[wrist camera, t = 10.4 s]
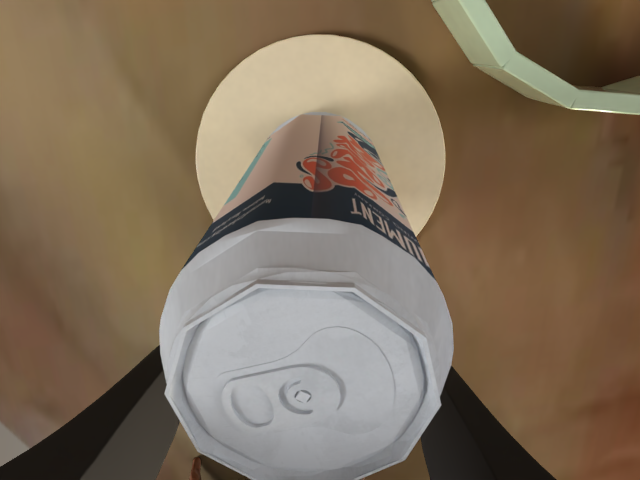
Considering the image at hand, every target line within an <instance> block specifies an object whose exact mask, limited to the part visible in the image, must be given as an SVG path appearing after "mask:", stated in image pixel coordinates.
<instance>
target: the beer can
mask: <svg viewBox="0 0 640 480" xmlns="http://www.w3.org/2000/svg"><path fill="white" fill-rule="evenodd" d="M159 337H160V354H161V359H162V364H163V369H164V374H165V379H166V383H167V386H166V390H165V393H164V394H165V396H166V398H167V399H168V401H169V403H170V405H171V406H172V408H173V410H174V412H175V413H176V415H177V417H178V418H179V420H180V422H181V424H182V425H183V427H184V429H185V431H186V432H187V434H188V436H189V437H190V439H191V441H192V443H193V444H194V446H195V448H196V450H197V451H198V452H199V453H201V454H203V455H205V456H207V457H209V458H211V459H213V460H215V461H217V462H219V463H221V464H222V465H224V466H226V467H228V468H230V469H232V470H234V471H236V472H238V473H240V474H242V475H244V476H246V477H248V478H250V479H252V480H359V479H362V478H364V477H366V476H369V475H371V474H373V473H376V472H378V471H381V470H383V469H385V468H388V467H390V466H392V465H395V464H397V463H399V462H402V461H404V460H405V459H406V458H407V456H408V455H409V453H410V452H411V450H412V449H413V447H414V446H415V444H416V443H417V441H418V440H419V438H420V437H421V435H422V434H423V432H424V431H425V429H426V428H427V426H428V425H429V423H430V422H431V420H432V419H433V417H434V415H435V414H436V412H437V411H438V409H439V408H440V406H441V401H440V395H441V393H442V390H443V387H444V384H445V381H446V378H447V376H448V373H449V370H450V367H451V363H452V356H453V350H454V346H453V327H452V321H451V317H450V314H449V311H448V308H447V305H446V301H445V298H444V296H443V294H442V292H441V290H440V288H439V286H438V284H437V282H436V280H435V278H434V276H433V273H432V271H431V269H430V267H429V265H428V262H427V260H426V258H425V256H424V254H423V252H422V249H421V247H420V245H419V243H418V241H417V238H416V236H415V234H414V232H413V230H412V228H411V225H410V223H409V221H408V219H407V217H406V214H405V212H404V210H403V208H402V206H401V204H400V201H399V199H398V197H397V195H396V193H395V190H394V188H393V186H392V184H391V182H390V180H389V177H388V175H387V173H386V171H385V169H384V166H383V164H382V162H381V160H380V158H379V156H378V153H377V151H376V149H375V147H374V145H373V142H372V141H371V139H370V138H369V137H368V135H367V134H366V133H365V132H364V131H363V130H362V129H361V128H360V127H358V126H357V125H356V124H354V123H353V122H352V121H350V120H349V119H347V118H345V117H342V116H340V115H336V114H332V113H327V112H310V113H305V114H300V115H298V116H295V117H293V118H290V119H289V120H287V121H286V122H284V123H283V124H281V125H280V126H279V127H278V128H277V129H276V130H275V131H274V132H273V133H272V134H271V135H270V136H269V137H268V138H267V140H266V141H265V143H264V145H263V146H262V148H261V149H260V151H259V152H258V154H257V155H256V157H255V158H254V160H253V161H252V163H251V164H250V166H249V167H248V169H247V171H246V172H245V174H244V175H243V177H242V178H241V180H240V181H239V183H238V184H237V186H236V187H235V189H234V190H233V192H232V193H231V195H230V197H229V198H228V200H227V201H226V203H225V204H224V206H223V207H222V209H221V210H220V212H219V213H218V215H217V216H216V218H215V219H214V221H213V222H212V224H211V226H210V227H209V229H208V230H207V232H206V233H205V235H204V236H203V238H202V239H201V241H200V242H199V244H198V245H197V247H196V248H195V250H194V252H193V253H192V255H191V256H190V258H189V259H188V261H187V262H186V264H185V265H184V267H183V268H182V270H181V271H180V273H179V275H178V277H177V278H176V280H175V282H174V283H173V285H172V287H171V288H170V291H169V294H168V297H167V300H166V303H165V306H164V310H163V313H162V316H161V321H160V329H159Z"/></svg>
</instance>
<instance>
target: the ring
mask: <svg viewBox="0 0 640 480" xmlns="http://www.w3.org/2000/svg"><path fill="white" fill-rule="evenodd" d="M431 2H433V6H434V8H435V9H436V11H437V12H438V14H439V15H440V17H441V18H442V20H443V21H444V23H445V24H446V26H447V27H448V29H449V30H450V32H451V33H452V35H453V36H454V38H455V40H456V41H457V43H458V44H459V46H460V47H461V49H462V50H463V52H464V53H465V55H466V56H467V58H468V59H469V61H470V62H471V63H472V64H473V66H475V67H477V68H478V69H480V70H482V71H483V72H485V73H487V74H488V75H490V76H492V77H494V78H495V79H497V80H499V81H500V82H502V83H504V84H505V85H507V86H509V87H510V88H512V89H514V90H515V91H517V92H519V93H521V94H522V95H524V96H526V97H527V98H530V99H534V100H538V101H542V102H545V103H549V104H553V105H557V106H561V107H564V108H568V109H573V110H586V111H598V112H610V113H622V114H634V115H640V75H639V76H636V77H633V78H629V79H626V80H623V81H620V82H617V83H613V84H610V85H607V86H604V87H601V88H600V87H589V86H577V85H571V84H569V83H568V82H566V81H564V80H563V79H561V78H559V77H558V76H556V75H554V74H553V73H551V72H550V71H548V70H546V69H545V68H543V67H541V66H540V65H538V64H536V63H535V62H533V61H532V60H530V59H528V58H527V57H525V56H523V55H522V54H520V53H518V52H517V51H516V50H515V48H514V46H513V45H512V43H511V42H510V40H509V38H508V37H507V35H506V33H505V32H504V30H503V28H502V27H501V25H500V24H499V22H498V20H497V19H496V17H495V15H494V14H493V12H492V10H491V9H490V7H489V5H488V4H487V2H486V1H485V0H431Z"/></svg>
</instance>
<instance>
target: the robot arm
mask: <svg viewBox="0 0 640 480" xmlns="http://www.w3.org/2000/svg"><path fill="white" fill-rule="evenodd" d="M166 386H167V383H166V379H165V374H164V369H163V364H162V359H161V354H160V345H159V346H158V347H156V348H155V349H154V350H153V351H152V352H151V353H150V354H149V355H148V356H146V357H145V358H144V359H143V360H142V361H141V362H140V363H139V364H138V365H137V366H135V367H134V368H133V369H132V370H131V371H130V372H129V373H128V374H127V375H125V376H124V377H123V378H122V379H121V380H120V381H119V382H117V383H116V384H115V385H114V386H113V387H112V388H110V389H109V390H108V391H107V392H106V393H105V394H103V395H102V396H101V397H100V398H99V399H97V400H96V401H95V402H94V403H92V404H91V405H90V406H88V407H87V408H86V409H85V410H83V411H82V412H81V413H80V414H78V415H77V416H76V417H75V418H73V419H72V420H71V421H69V422H68V423H67V424H65V425H64V426H62V427H61V428H60V429H58V430H57V431H56V432H54V433H53V434H51V435H50V436H48V437H47V438H45V439H44V440H42V441H41V442H39V443H38V444H37V445H35V446H33V447H32V448H30V449H29V450H27V451H26V452H24V453H22V454H21V455H19V456H17V457H16V458H14V459H12V460H11V461H9V462H8V463H6V464H4V465H3V466H1V467H0V480H156V478H157V475H158V473H159V471H160V468H161V466H162V464H163V462H164V459H165V457H166V455H167V452H168V450H169V448H170V445H171V443H172V441H173V438H174V436H175V434H176V431H177V428H178V425H179V421H180V420H179V418H178V417H177V415H176V413H175V412H174V410H173V408H172V406H171V405H170V403H169V401H168V399H167V398H166V396H165V394H164V393H165V390H166ZM440 401H441V406H440V408H439V409H438V411H437V412H436V414H435V415H434V417H433V419H432V420H431V422H430V423H429V425H428V426H427V428H426V429H425V431H424V432H423V434H422V435H421V442H422V448H423V453H424V457H425V461H426V464H427V468H428V472H429V476H430V480H556V479H555V478H554V477H553V476H552V475H551V474H550V473H549V472H547V471H546V470H545V469H544V468H543V467H542V466H541V465H540V464H539V463H538V462H537V461H536V460H535V459H534V458H533V457H532V456H531V455H530V454H529V453H528V452H527V451H526V450H525V449H524V448H523V447H522V446H521V445H520V444H519V443H518V442H517V441H516V440H515V439H514V438H513V437H512V436H511V435H510V434H509V433H508V432H507V431H506V429H505V428H504V427H503V426H502V425H501V424H500V423H499V422H498V421H497V419H496V418H495V417H494V416H493V415H492V414H491V413H490V411H489V410H488V409H487V408H486V407H485V406H484V404H483V403H482V402H481V401H480V400H479V398H478V397H477V396H476V395H475V394H474V392H473V391H472V390H471V389H470V388H469V386H468V385H467V384H466V383H465V381H464V380H463V379H462V378H461V377H460V375H459V374H458V373H457V372H456V371H455V369H454V368H453V367H452V366H451V367H450V370H449V373H448V376H447V378H446V381H445V384H444V387H443V390H442V393H441V395H440Z"/></svg>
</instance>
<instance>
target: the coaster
mask: <svg viewBox="0 0 640 480" xmlns="http://www.w3.org/2000/svg"><path fill="white" fill-rule="evenodd" d="M310 112H327V113H332V114H336V115H340V116H342V117H345V118H347V119H349V120H350V121H352V122H353V123H354V124H356V125H357V126H358V127H360V128H361V129H362V130H363V131H364V132H365V133H366V134H367V135H368V137H369V138H370V139H371V141H372V142H373V145H374V147H375V149H376V151H377V153H378V156H379V158H380V160H381V162H382V164H383V166H384V169H385V171H386V173H387V175H388V177H389V180H390V182H391V184H392V186H393V188H394V190H395V193H396V195H397V197H398V199H399V201H400V204H401V206H402V208H403V210H404V212H405V214H406V217H407V219H408V221H409V223H410V225H411V228H412V230H413V232H414V234H415V236H417V235H418V233H419V232H420V231H421V230H422V228H423V227H424V226H425V224H426V222H427V221H428V219H429V217H430V216H431V214H432V212H433V210H434V208H435V205H436V203H437V200H438V198H439V195H440V191H441V188H442V184H443V179H444V172H445V144H444V136H443V131H442V127H441V124H440V120H439V117H438V114H437V112H436V110H435V108H434V105H433V103H432V101H431V99H430V98H429V96H428V94H427V93H426V91H425V89H424V88H423V86H422V85H421V84H420V83H419V81H418V80H417V79H416V78H415V77H414V75H413V74H412V73H411V72H410V71H409V70H408V69H407V68H405V67H404V66H403V65H402V64H401V63H400V62H399V61H398V60H396V59H395V58H393V57H392V56H390V55H389V54H387V53H386V52H384V51H382V50H380V49H378V48H376V47H374V46H372V45H370V44H368V43H365V42H362V41H359V40H356V39H353V38H349V37H343V36H337V35H330V34H311V35H303V36H296V37H291V38H288V39H284V40H281V41H277V42H275V43H273V44H270V45H268V46H266V47H264V48H262V49H259V50H258V51H256V52H255V53H253V54H252V55H250V56H249V57H247V58H245V59H244V60H243V61H242V62H241V63H239V64H238V65H237V66H236V67H235V68H234V69H233V70H231V71H230V73H229V74H228V75H227V76H226V77H225V78H224V80H223V81H222V82H221V83H220V84H219V86H218V87H217V89H216V90H215V92H214V94H213V95H212V97H211V98H210V100H209V103H208V105H207V107H206V109H205V111H204V113H203V117H202V120H201V123H200V127H199V130H198V137H197V143H196V169H197V178H198V182H199V186H200V190H201V194H202V196H203V199H204V201H205V204H206V207H207V209H208V211H209V212H210V214H211V216H212V218H213V220H214V219H215V218H216V216H217V215H218V213H219V212H220V210H221V209H222V207H223V206H224V204H225V203H226V201H227V200H228V198H229V197H230V195H231V193H232V192H233V190H234V189H235V187H236V186H237V184H238V183H239V181H240V180H241V178H242V177H243V175H244V174H245V172H246V171H247V169H248V167H249V166H250V164H251V163H252V161H253V160H254V158H255V157H256V155H257V154H258V152H259V151H260V149H261V148H262V146H263V145H264V143H265V141H266V140H267V138H268V137H269V136H270V135H271V134H272V133H273V132H274V131H275V130H276V129H277V128H278V127H279V126H280V125H281V124H283V123H284V122H286V121H287V120H289V119H290V118H293V117H295V116H298V115H300V114H305V113H310Z"/></svg>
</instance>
